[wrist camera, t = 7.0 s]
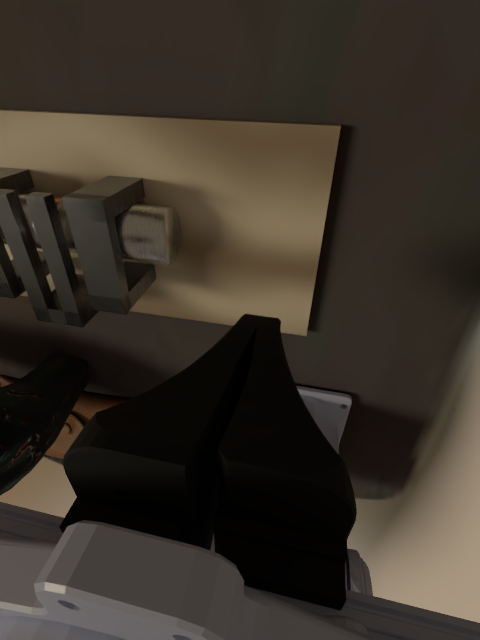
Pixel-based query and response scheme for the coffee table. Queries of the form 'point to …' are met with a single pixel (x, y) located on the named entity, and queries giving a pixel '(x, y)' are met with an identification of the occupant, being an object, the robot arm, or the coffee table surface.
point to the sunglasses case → (76, 416)
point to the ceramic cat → (36, 413)
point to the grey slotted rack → (91, 244)
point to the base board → (200, 201)
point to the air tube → (129, 231)
